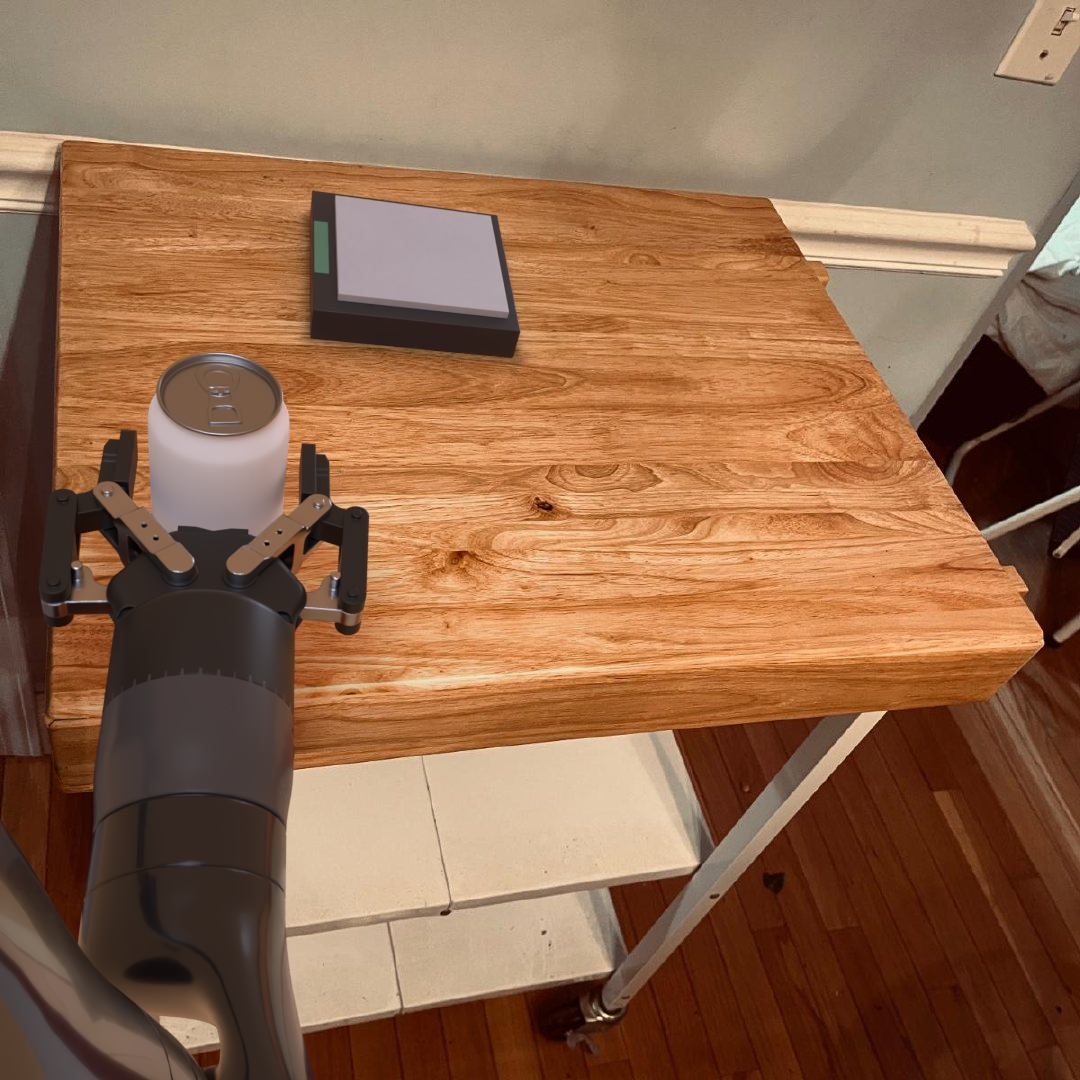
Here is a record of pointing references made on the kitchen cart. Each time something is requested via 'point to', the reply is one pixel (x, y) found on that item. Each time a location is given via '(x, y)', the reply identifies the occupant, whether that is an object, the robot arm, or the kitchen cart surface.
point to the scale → (409, 276)
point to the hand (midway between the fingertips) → (220, 448)
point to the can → (217, 444)
